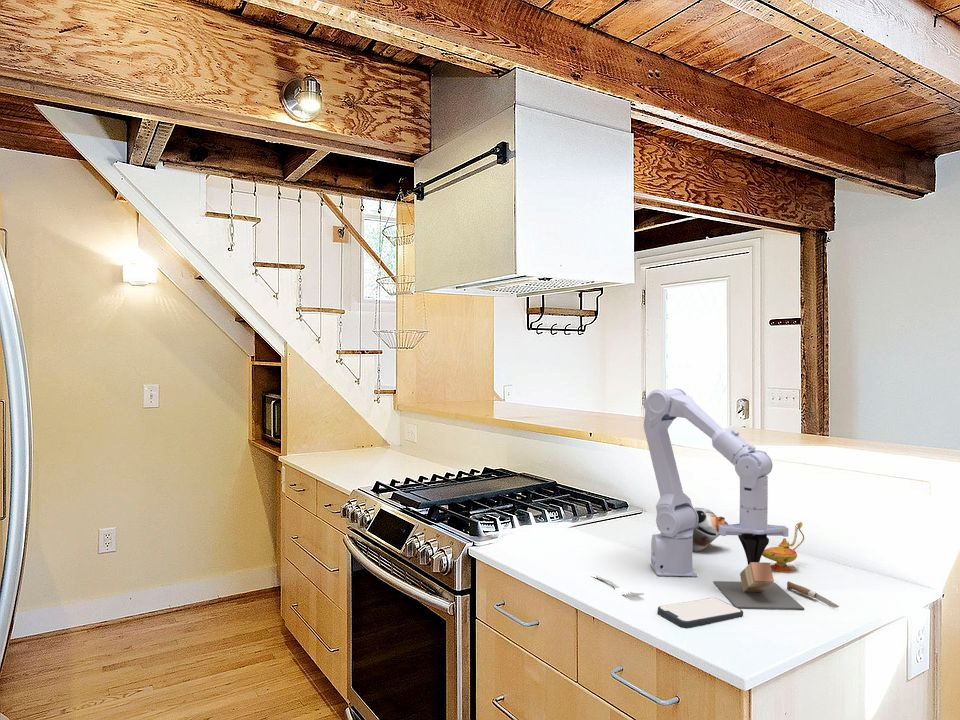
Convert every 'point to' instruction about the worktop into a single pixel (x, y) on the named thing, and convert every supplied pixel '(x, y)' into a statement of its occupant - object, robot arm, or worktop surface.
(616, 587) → the fork
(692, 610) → the phone case
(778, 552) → the magic lamp
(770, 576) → the maple block
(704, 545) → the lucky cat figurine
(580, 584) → the worktop surface
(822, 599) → the folding knife
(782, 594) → the rubber mat
